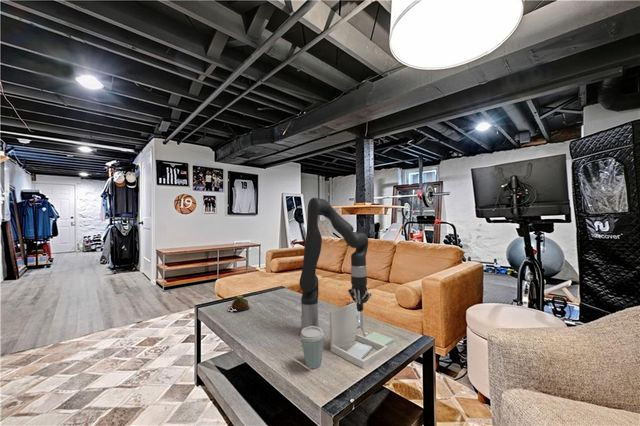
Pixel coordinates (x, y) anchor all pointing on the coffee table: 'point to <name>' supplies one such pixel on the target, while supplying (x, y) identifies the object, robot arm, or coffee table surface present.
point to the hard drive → (360, 350)
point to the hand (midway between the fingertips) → (360, 310)
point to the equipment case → (351, 336)
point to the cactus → (240, 303)
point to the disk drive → (359, 314)
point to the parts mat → (380, 338)
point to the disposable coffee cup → (312, 345)
